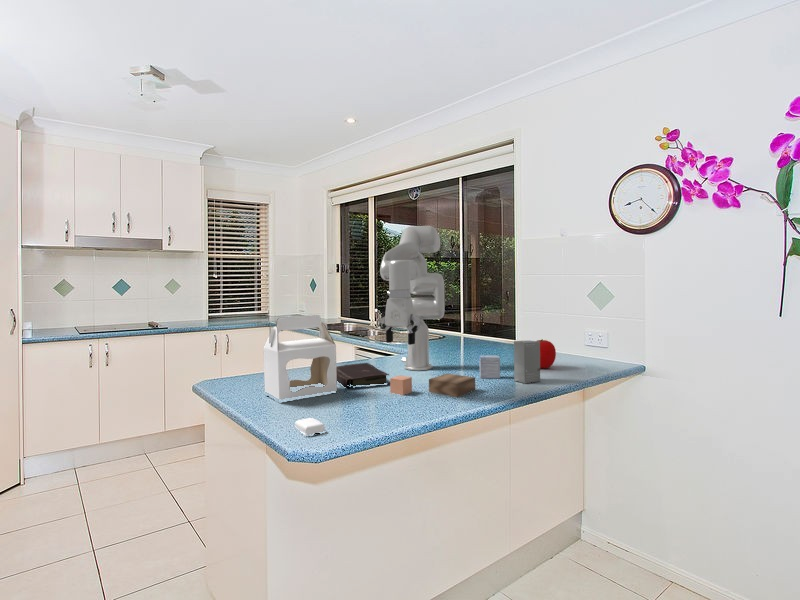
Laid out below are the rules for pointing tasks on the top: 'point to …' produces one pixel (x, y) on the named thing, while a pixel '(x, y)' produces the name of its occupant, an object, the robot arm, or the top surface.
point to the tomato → (546, 353)
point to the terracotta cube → (401, 385)
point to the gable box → (283, 352)
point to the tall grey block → (527, 361)
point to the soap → (309, 426)
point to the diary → (360, 374)
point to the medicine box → (489, 367)
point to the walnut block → (452, 385)
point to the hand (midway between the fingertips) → (400, 343)
